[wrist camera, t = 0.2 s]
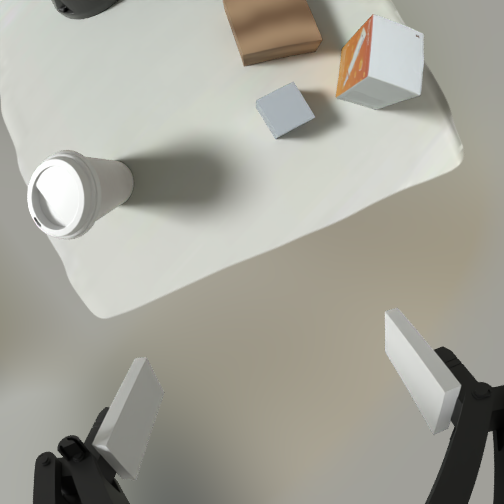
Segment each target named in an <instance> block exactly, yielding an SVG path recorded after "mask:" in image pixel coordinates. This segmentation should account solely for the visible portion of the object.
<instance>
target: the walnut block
mask: <svg viewBox="0 0 504 504" xmlns="http://www.w3.org/2000/svg"><path fill="white" fill-rule="evenodd" d="M223 4H224V9H225V12H226V15H227V18H228V20H229V23H230V26H231V29H232V32H233V35H234V38H235V41H236V44H237V47H238V49H239V52H240V55H241V58H242V61H243V65H244V66H247V65H251V64H255V63H260V62H264V61H268V60H273V59H277V58H282V57H287V56H292V55H298V54H304V53H309V52H315V51H316V50H317V48H318V46H319V45H320V43H321V41H322V37H321V35H320V32H319V30H318V27H317V25H316V22H315V20H314V18H313V15H312V13H311V10H310V8H309V6H308V4H307V1H306V0H223Z"/></svg>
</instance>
